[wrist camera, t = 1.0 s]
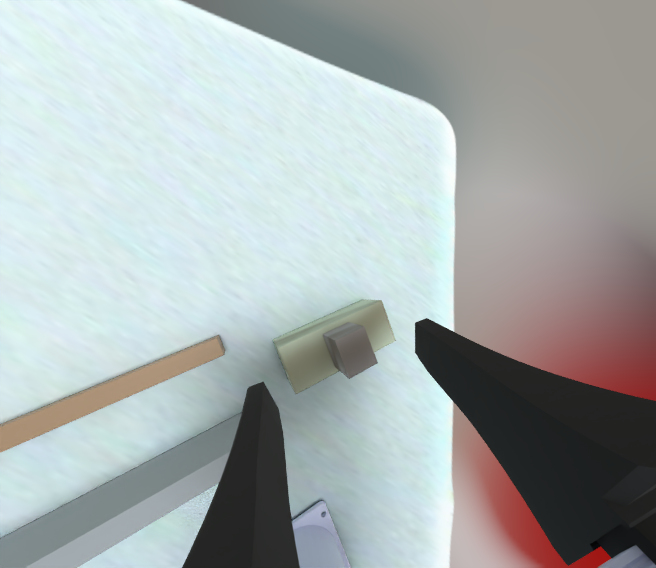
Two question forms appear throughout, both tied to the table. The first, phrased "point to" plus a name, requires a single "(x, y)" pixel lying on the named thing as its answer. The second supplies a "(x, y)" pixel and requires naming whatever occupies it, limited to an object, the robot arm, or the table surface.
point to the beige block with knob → (335, 344)
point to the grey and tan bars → (126, 490)
